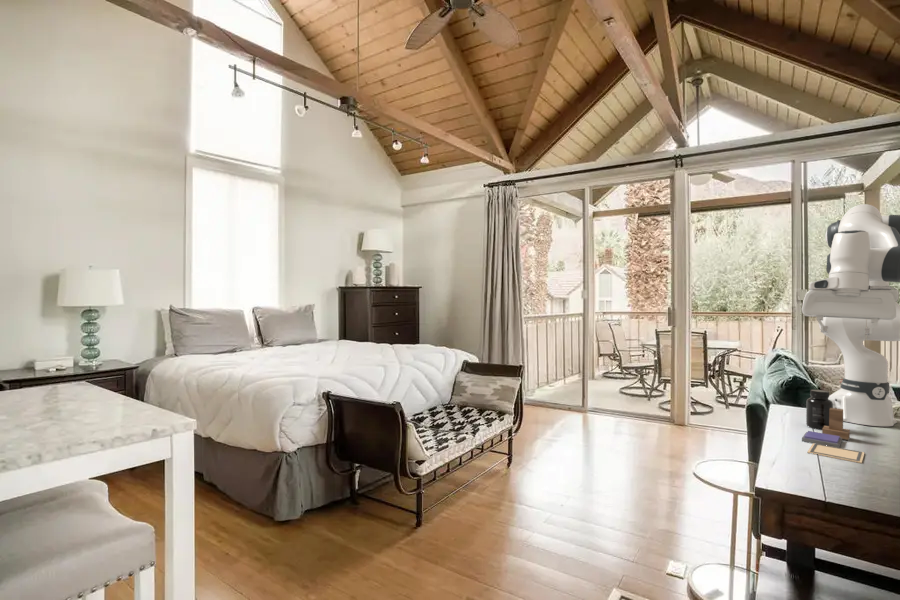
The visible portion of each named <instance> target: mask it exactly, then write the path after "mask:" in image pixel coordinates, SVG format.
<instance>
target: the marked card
mask: <svg viewBox="0 0 900 600" xmlns="http://www.w3.org/2000/svg"><path fill="white" fill-rule="evenodd" d="M810 453H813V454H812V455H815V454H818V455H817V456H821V455H822V457H826V456H827V457H826V458H831V459H837V460H842V461H847V462H852V463H858V464H863V460H864V456H865V452H864V451H859V450H853V449H848V448H841V447H839V448H838V447H832V446H826V445H821V444H815V443H811V445H810V447H809V449H808V450H807V454H810Z"/></svg>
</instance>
